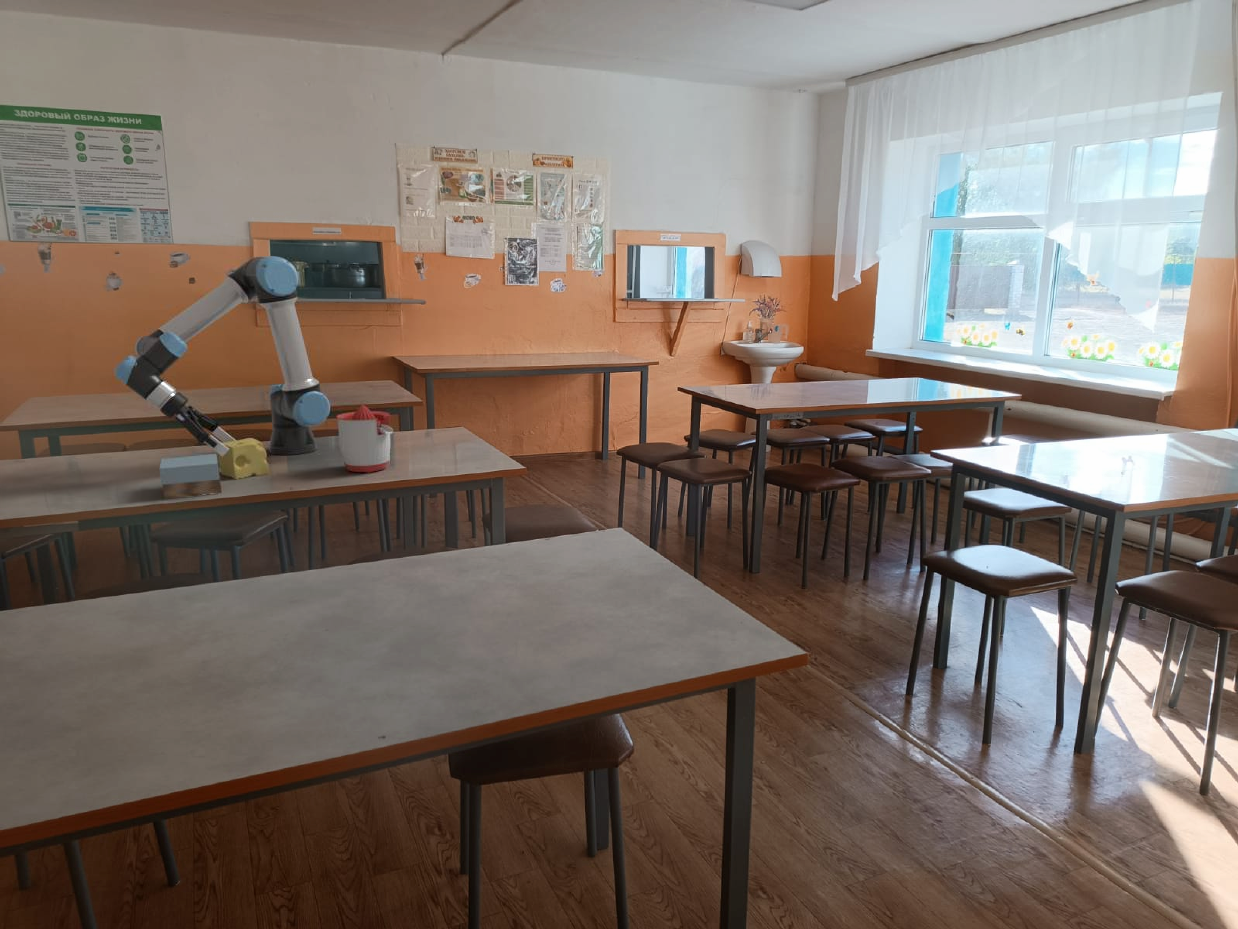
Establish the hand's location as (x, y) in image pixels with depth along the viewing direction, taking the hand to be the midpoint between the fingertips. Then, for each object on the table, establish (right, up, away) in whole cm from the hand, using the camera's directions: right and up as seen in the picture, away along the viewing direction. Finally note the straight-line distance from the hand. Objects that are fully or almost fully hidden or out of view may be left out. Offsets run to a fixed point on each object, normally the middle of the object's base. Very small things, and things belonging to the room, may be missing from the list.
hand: (229, 448), depth 252 cm
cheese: (+3, -8, +3) cm, 9 cm away
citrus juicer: (+39, -6, +10) cm, 40 cm away
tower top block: (-3, -8, -17) cm, 19 cm away
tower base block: (-3, -13, -16) cm, 20 cm away
